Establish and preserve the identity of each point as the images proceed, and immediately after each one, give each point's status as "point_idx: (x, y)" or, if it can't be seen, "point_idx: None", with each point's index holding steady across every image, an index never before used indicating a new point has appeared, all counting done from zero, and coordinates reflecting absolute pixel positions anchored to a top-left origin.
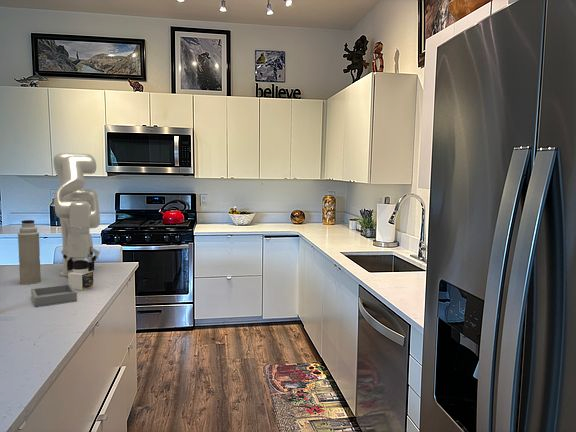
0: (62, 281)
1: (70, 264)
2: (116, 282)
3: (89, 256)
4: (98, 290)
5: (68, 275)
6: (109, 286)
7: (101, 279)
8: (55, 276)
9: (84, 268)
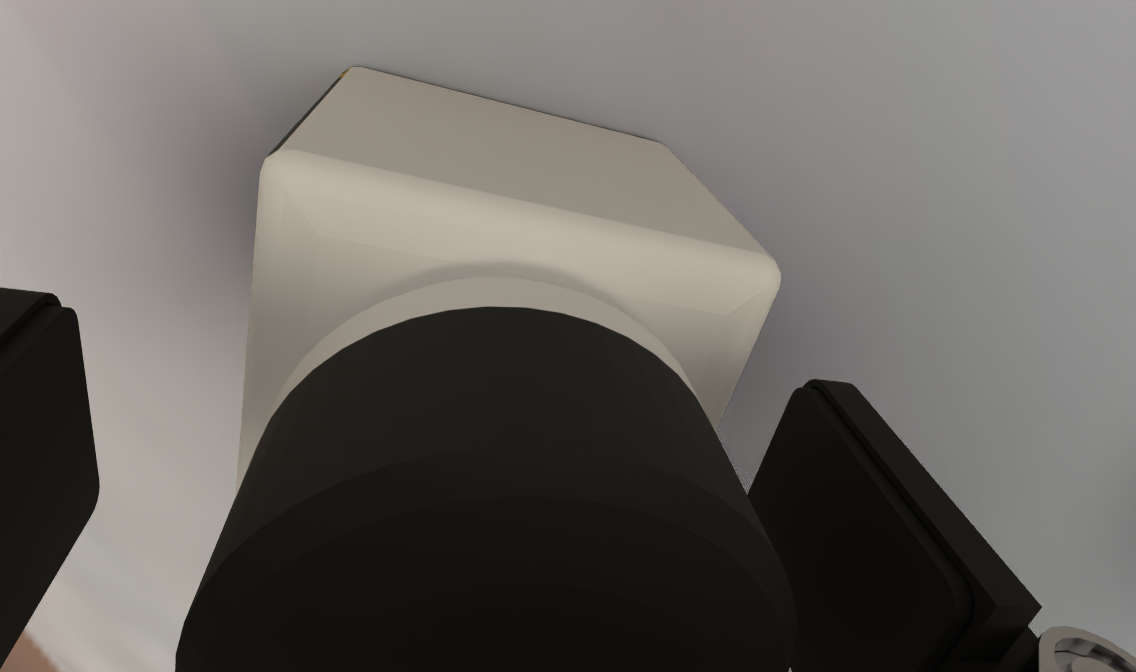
0: None
1: (855, 561)
2: (68, 575)
3: None
4: (17, 91)
5: (746, 233)
6: None
7: None
8: None
9: (269, 423)
